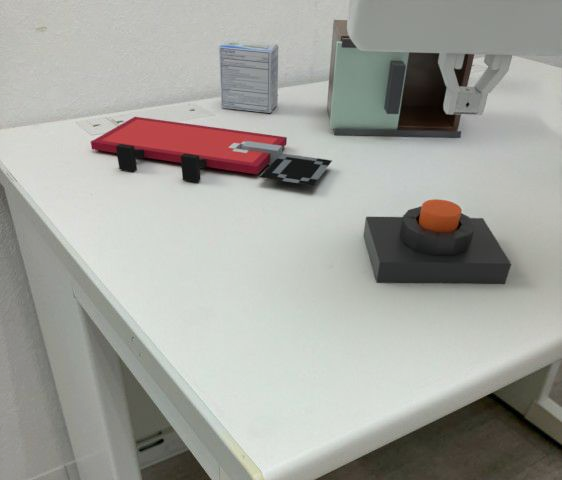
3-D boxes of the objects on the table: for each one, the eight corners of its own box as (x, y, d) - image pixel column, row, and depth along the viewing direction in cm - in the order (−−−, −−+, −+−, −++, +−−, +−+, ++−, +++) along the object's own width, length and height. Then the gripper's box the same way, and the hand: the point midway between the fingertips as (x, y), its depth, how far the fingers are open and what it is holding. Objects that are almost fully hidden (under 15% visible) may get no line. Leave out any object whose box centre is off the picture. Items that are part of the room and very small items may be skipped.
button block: (477, 237, 61) (487, 201, 59) (504, 284, 55) (517, 245, 52) (363, 236, 61) (368, 199, 58) (376, 283, 54) (382, 244, 52)
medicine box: (278, 105, 92) (279, 43, 86) (270, 114, 89) (271, 50, 83) (229, 100, 93) (228, 38, 88) (220, 108, 90) (218, 45, 84)
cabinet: (441, 110, 93) (458, 23, 85) (460, 137, 84) (481, 42, 76) (326, 108, 92) (333, 19, 84) (334, 135, 83) (342, 38, 75)
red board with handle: (308, 199, 66) (340, 155, 77) (309, 175, 64) (342, 133, 75) (75, 162, 73) (136, 127, 84) (71, 139, 71) (133, 106, 82)
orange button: (451, 216, 57) (456, 199, 56) (461, 234, 54) (466, 216, 53) (415, 216, 57) (418, 198, 56) (422, 234, 54) (426, 216, 53)
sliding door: (396, 128, 84) (409, 43, 77) (400, 136, 82) (414, 49, 75) (329, 126, 84) (336, 41, 77) (331, 134, 81) (339, 47, 74)
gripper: (638, -99, 42) (570, 103, 52) (355, -111, 42) (337, 97, 51) (686, -94, 38) (601, 128, 47) (368, -107, 37) (345, 122, 46)
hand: (462, 112), depth 49 cm, fingers closed
